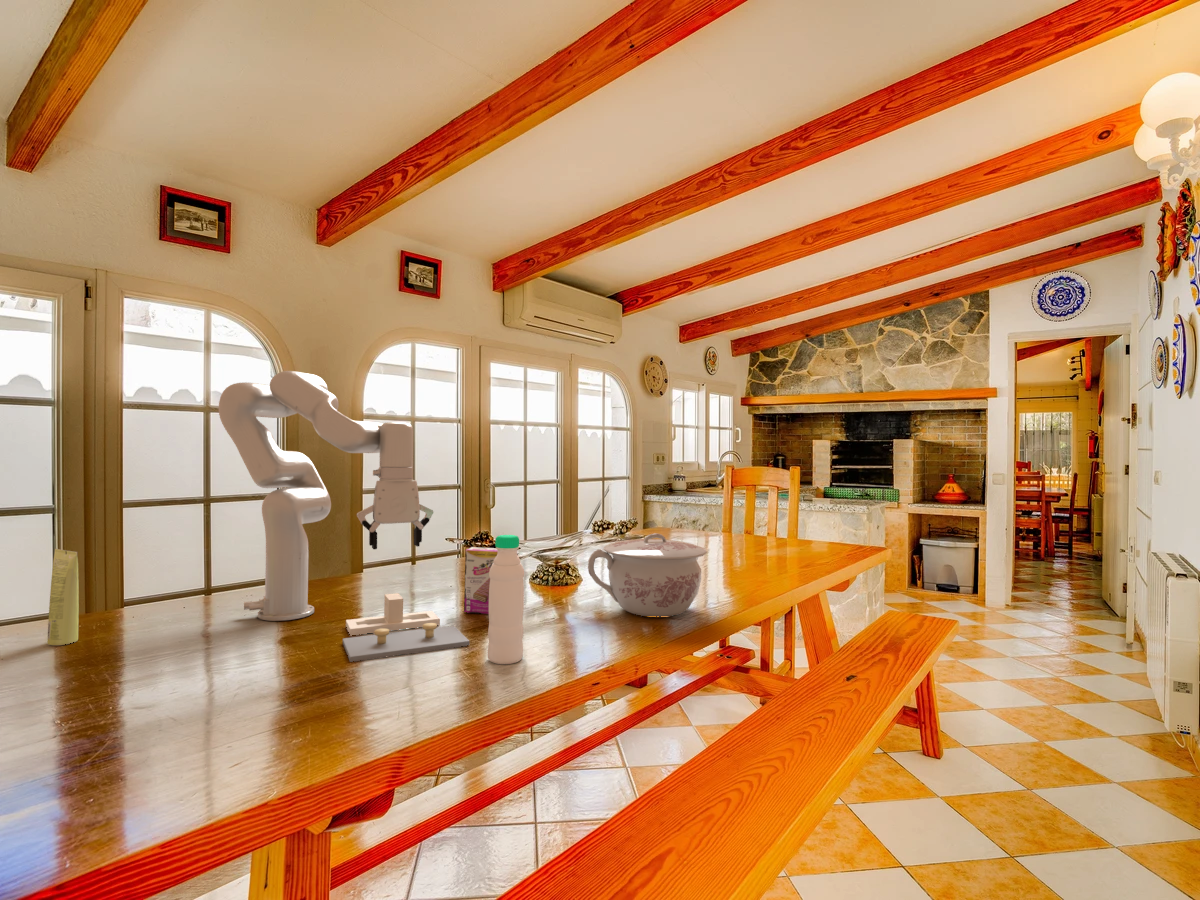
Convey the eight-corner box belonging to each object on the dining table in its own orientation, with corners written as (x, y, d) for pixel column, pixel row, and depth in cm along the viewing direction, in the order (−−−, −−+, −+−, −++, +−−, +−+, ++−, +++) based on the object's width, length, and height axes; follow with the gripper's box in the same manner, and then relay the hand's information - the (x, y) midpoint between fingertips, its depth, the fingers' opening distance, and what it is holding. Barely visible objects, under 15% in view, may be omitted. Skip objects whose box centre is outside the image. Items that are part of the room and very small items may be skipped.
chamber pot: (722, 608, 169) (723, 532, 169) (678, 632, 146) (680, 544, 146) (632, 593, 184) (633, 524, 184) (580, 613, 161) (581, 534, 161)
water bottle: (528, 656, 128) (530, 534, 128) (512, 667, 121) (515, 539, 121) (498, 651, 130) (500, 532, 130) (481, 662, 123) (483, 536, 123)
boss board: (350, 662, 122) (350, 643, 122) (342, 643, 134) (342, 626, 134) (469, 645, 134) (469, 628, 134) (453, 629, 145) (453, 614, 145)
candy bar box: (463, 613, 159) (464, 549, 159) (469, 608, 164) (470, 546, 164) (506, 615, 158) (507, 551, 158) (510, 610, 163) (511, 548, 163)
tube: (86, 637, 134) (87, 547, 134) (75, 645, 129) (77, 551, 129) (53, 640, 132) (55, 548, 132) (41, 647, 127) (43, 552, 127)
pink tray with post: (350, 636, 139) (350, 604, 139) (345, 626, 146) (346, 597, 146) (439, 625, 148) (440, 596, 148) (431, 617, 155) (432, 589, 155)
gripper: (359, 475, 139) (359, 552, 139) (436, 474, 148) (436, 546, 148) (355, 474, 146) (354, 547, 146) (429, 473, 154) (429, 542, 154)
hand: (395, 547), depth 147 cm, fingers open, 9 cm apart
